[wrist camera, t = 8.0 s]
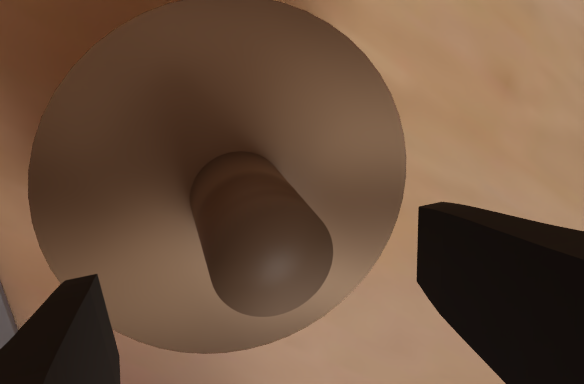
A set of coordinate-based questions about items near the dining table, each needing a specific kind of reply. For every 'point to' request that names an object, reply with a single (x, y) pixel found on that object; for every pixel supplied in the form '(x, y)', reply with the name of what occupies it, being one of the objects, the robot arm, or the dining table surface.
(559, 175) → the dining table surface
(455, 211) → the robot arm
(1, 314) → the mat
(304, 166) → the lid
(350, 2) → the dining table surface
